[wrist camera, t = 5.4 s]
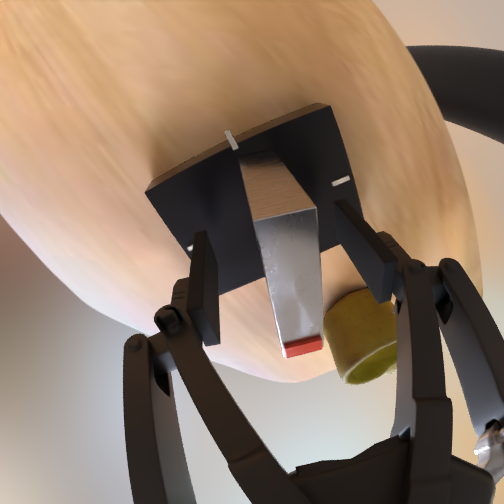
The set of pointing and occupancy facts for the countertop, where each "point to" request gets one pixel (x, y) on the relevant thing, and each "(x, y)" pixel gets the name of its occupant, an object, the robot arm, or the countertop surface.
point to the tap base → (234, 196)
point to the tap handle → (286, 250)
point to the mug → (362, 337)
